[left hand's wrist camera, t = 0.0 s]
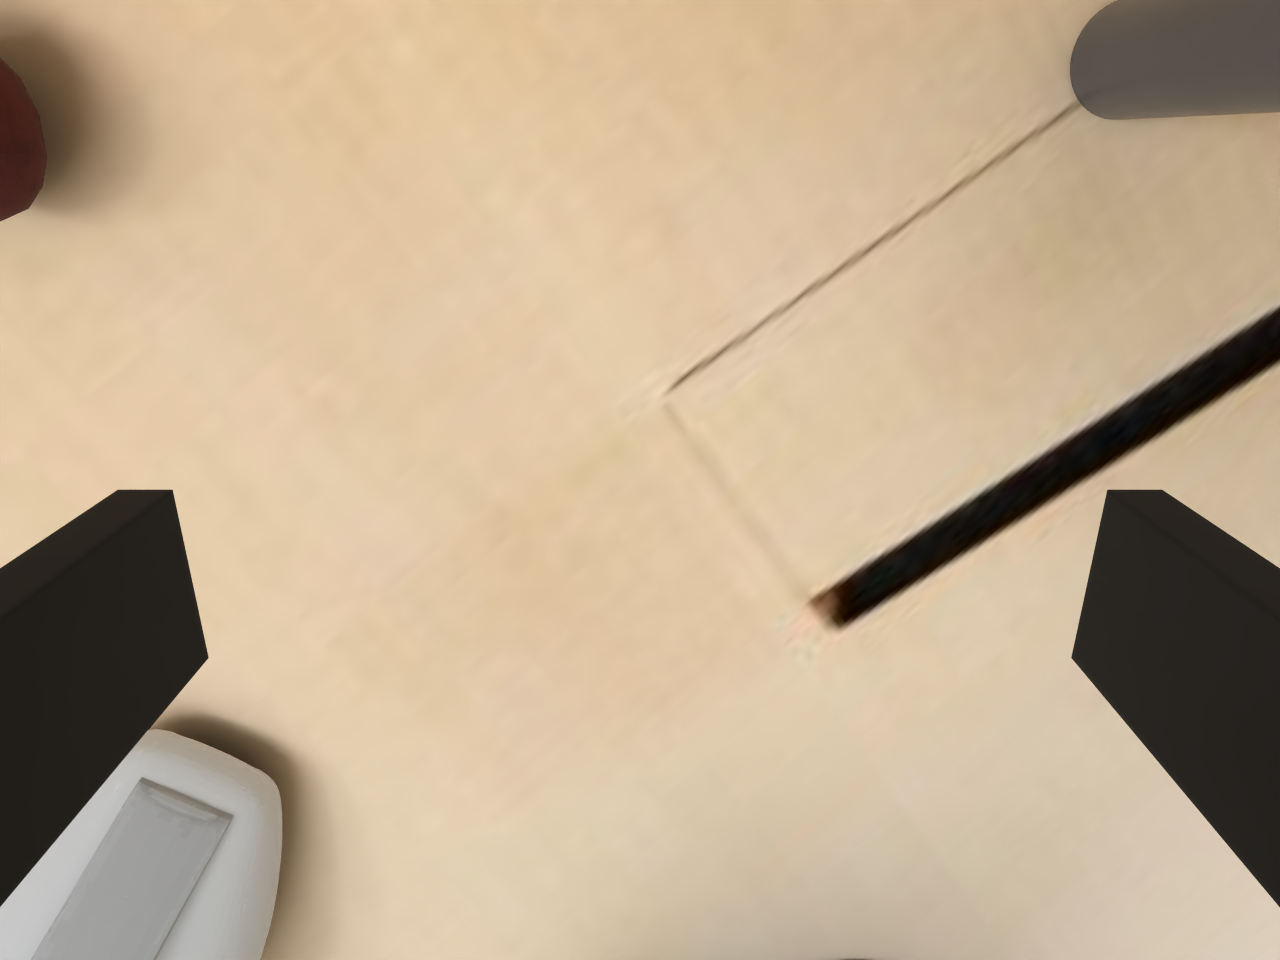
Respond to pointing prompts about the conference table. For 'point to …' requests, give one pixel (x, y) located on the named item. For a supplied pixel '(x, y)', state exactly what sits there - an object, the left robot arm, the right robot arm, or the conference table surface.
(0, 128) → the dark maroon ball
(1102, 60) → the bottle
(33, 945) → the projector
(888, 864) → the conference table surface
